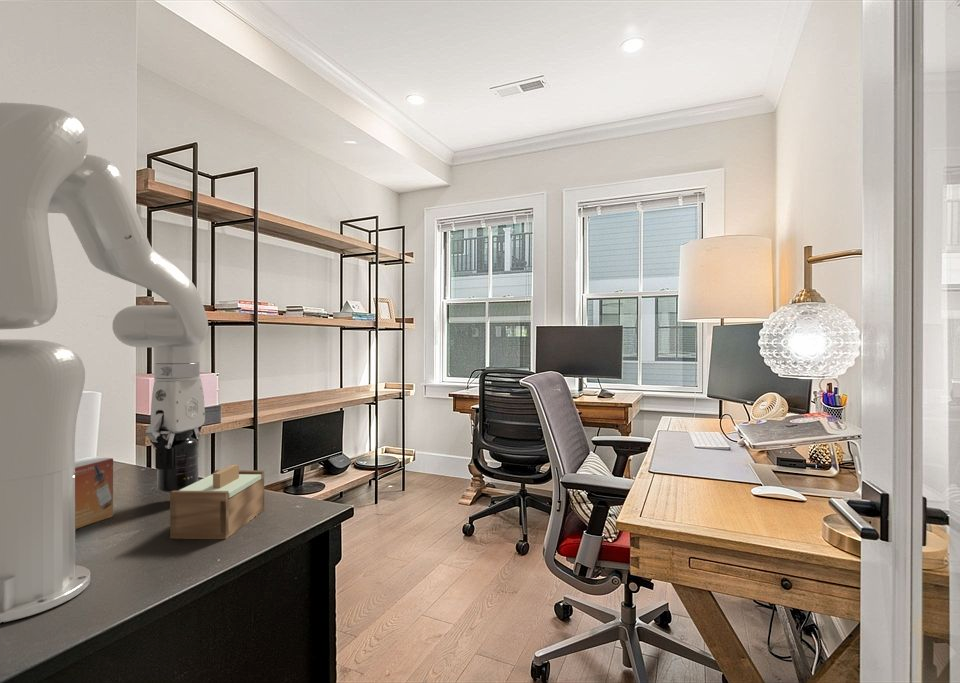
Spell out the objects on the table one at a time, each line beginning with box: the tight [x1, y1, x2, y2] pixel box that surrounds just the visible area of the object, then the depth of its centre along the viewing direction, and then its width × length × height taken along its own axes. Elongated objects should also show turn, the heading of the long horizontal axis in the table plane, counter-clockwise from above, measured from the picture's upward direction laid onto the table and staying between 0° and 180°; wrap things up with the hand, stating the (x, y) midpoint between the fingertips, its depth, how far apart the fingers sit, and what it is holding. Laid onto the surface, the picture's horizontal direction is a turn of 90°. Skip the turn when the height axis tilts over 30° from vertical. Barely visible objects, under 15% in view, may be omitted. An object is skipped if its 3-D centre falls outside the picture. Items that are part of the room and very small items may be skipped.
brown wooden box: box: [169, 469, 265, 540], centre depth 84 cm, size 13×9×7 cm
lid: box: [179, 463, 261, 498], centre depth 84 cm, size 11×9×3 cm
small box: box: [75, 456, 114, 530], centre depth 84 cm, size 8×6×10 cm
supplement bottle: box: [156, 429, 199, 493], centre depth 95 cm, size 7×7×12 cm
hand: (177, 463), depth 95 cm, fingers closed on supplement bottle, 6 cm apart
